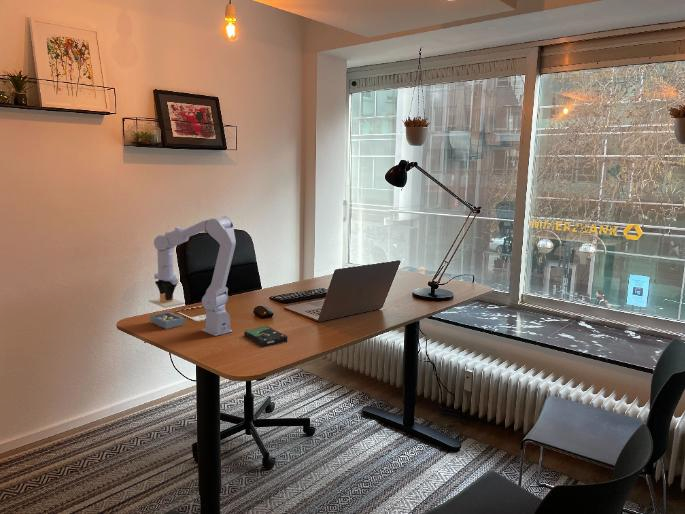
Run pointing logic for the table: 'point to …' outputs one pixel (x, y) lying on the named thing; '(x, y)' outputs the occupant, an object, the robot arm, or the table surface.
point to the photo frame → (196, 318)
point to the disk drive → (265, 336)
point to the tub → (167, 320)
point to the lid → (164, 302)
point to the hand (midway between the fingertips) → (166, 299)
